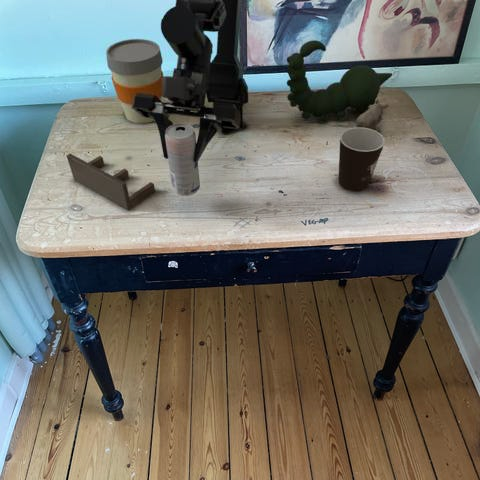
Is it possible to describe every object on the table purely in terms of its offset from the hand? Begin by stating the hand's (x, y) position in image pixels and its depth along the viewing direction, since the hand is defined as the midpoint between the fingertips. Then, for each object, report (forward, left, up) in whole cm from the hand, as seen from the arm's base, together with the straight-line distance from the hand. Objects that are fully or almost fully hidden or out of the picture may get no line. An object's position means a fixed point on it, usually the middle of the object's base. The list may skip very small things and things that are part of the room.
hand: (180, 160), depth 89 cm
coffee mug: (-36, +10, -12) cm, 39 cm away
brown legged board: (+8, -16, -12) cm, 22 cm away
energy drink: (-1, -1, -7) cm, 7 cm away
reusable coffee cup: (-9, -40, -12) cm, 42 cm away
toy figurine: (-48, -13, -12) cm, 52 cm away
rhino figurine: (-51, -4, -12) cm, 53 cm away
